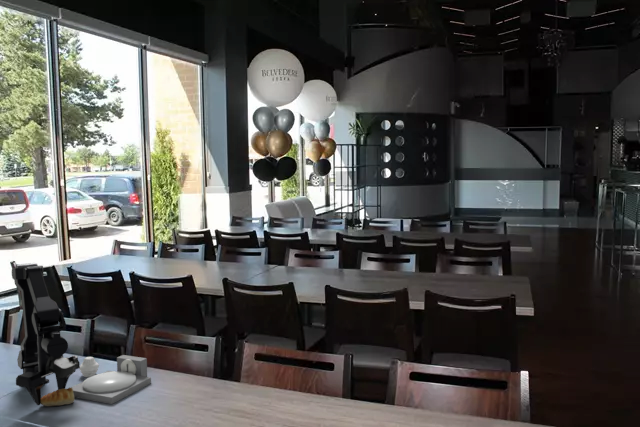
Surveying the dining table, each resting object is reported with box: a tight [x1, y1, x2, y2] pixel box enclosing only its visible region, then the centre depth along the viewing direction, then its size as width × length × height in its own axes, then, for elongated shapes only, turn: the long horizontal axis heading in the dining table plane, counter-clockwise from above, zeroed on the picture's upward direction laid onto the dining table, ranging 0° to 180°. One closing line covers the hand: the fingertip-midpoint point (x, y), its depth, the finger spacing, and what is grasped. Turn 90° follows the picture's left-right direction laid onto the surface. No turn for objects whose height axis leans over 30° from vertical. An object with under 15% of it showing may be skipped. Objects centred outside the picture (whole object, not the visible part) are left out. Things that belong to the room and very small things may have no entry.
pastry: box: [40, 386, 75, 407], centre depth 170 cm, size 9×7×4 cm
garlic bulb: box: [78, 356, 100, 378], centre depth 193 cm, size 6×6×7 cm
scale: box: [70, 354, 152, 405], centre depth 183 cm, size 18×21×7 cm
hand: (50, 399), depth 171 cm, fingers closed on pastry, 8 cm apart
